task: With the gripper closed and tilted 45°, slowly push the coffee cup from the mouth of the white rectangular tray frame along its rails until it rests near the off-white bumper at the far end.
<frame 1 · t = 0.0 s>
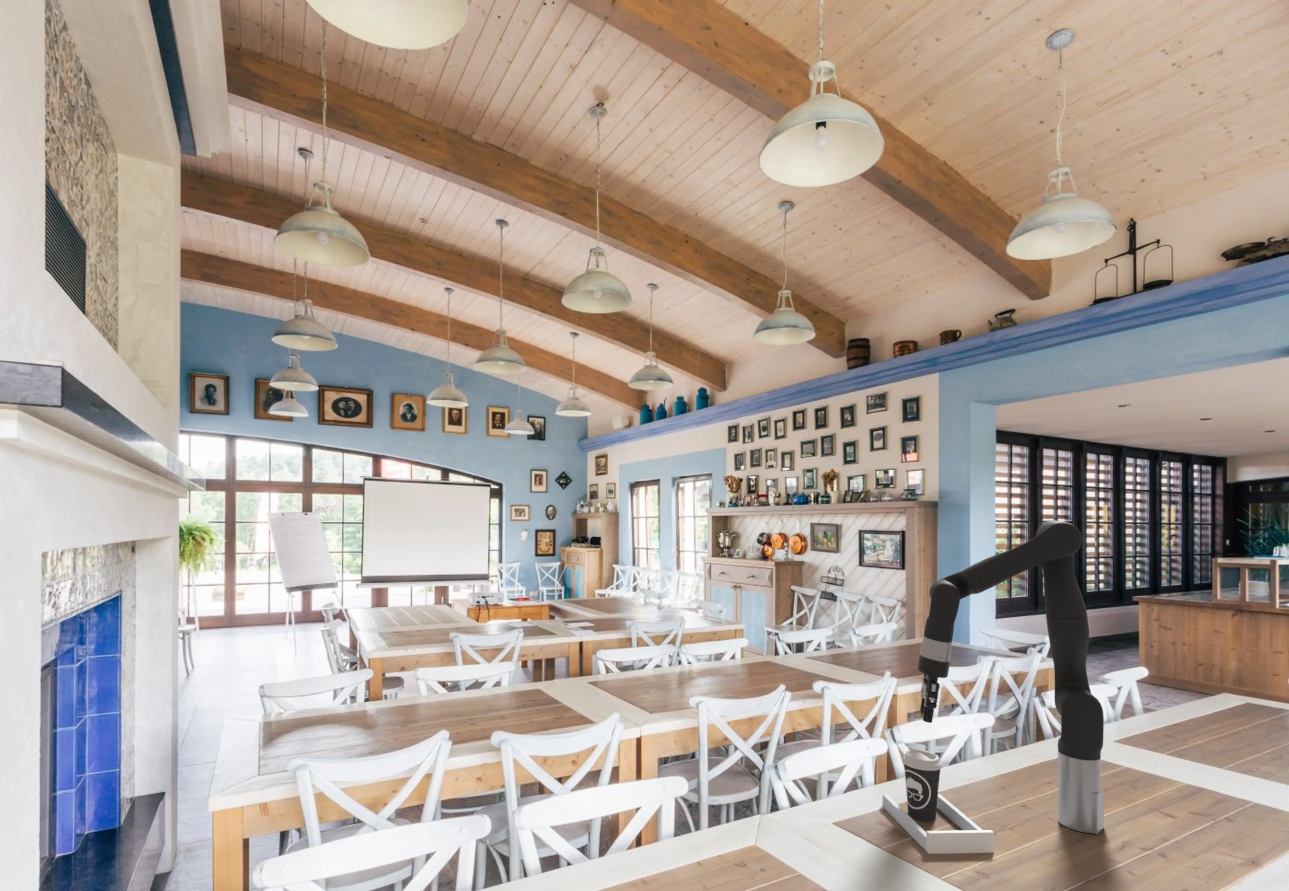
hand: (925, 717, 194), 22 cm above the table, tool pointing down, fingers open, 8 cm apart
white rectangular tray frame: (933, 826, 179), on the table
coffee cup: (921, 816, 185), on the table
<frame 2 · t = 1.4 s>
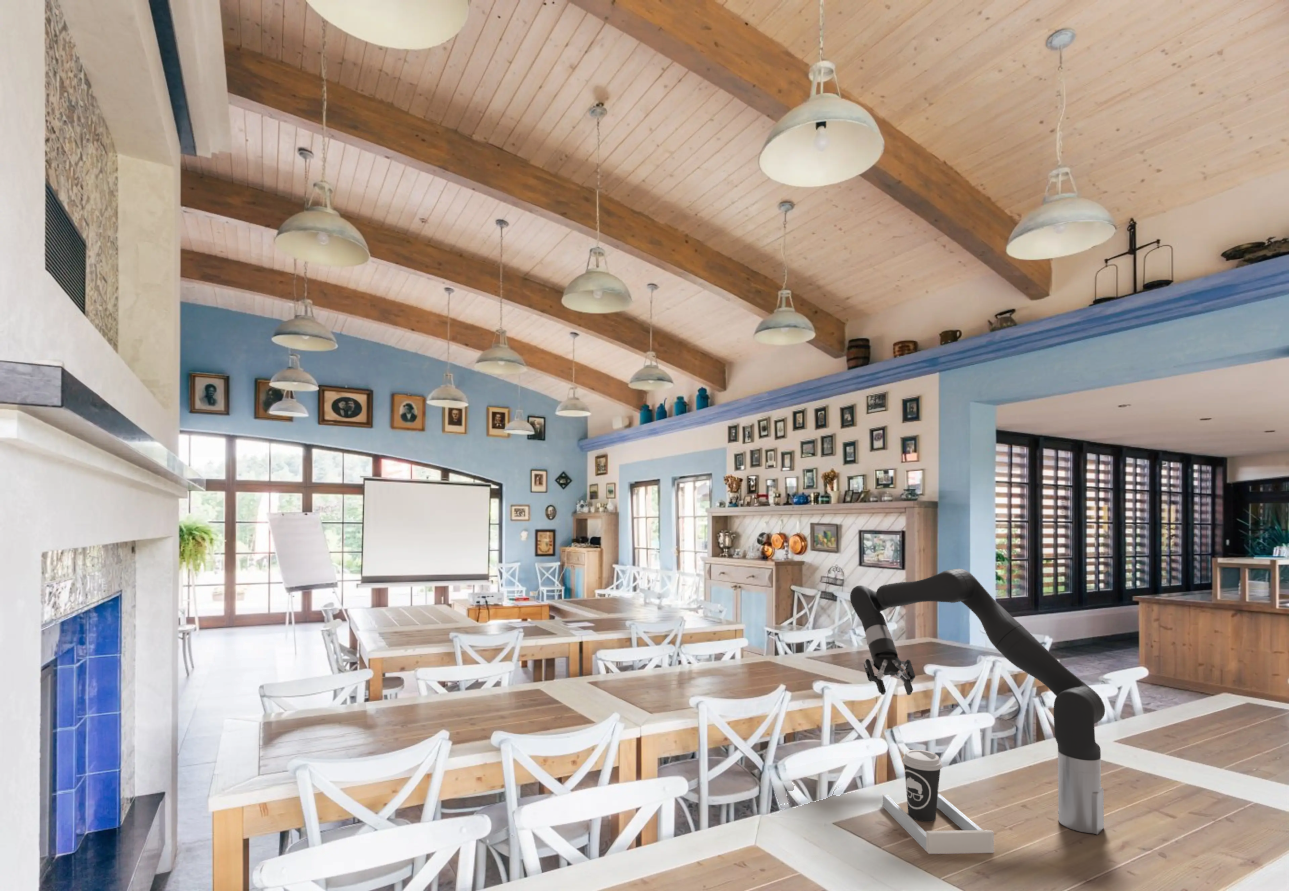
hand: (896, 693, 211), 24 cm above the table, tool tilted 45°, fingers open, 7 cm apart
nothing on the table moved.
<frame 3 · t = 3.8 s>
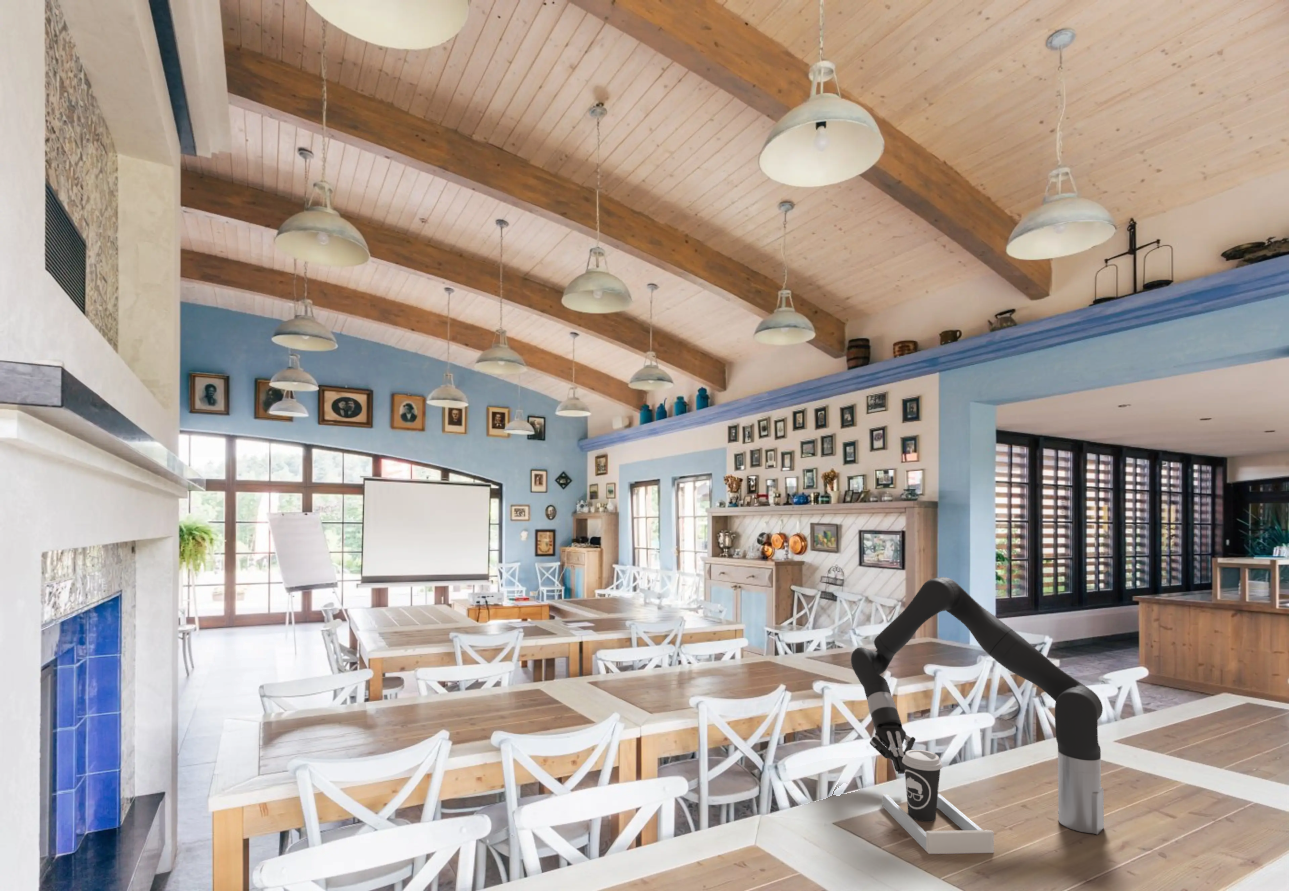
hand: (902, 772, 197), 6 cm above the table, tool tilted 45°, fingers closed
nothing on the table moved.
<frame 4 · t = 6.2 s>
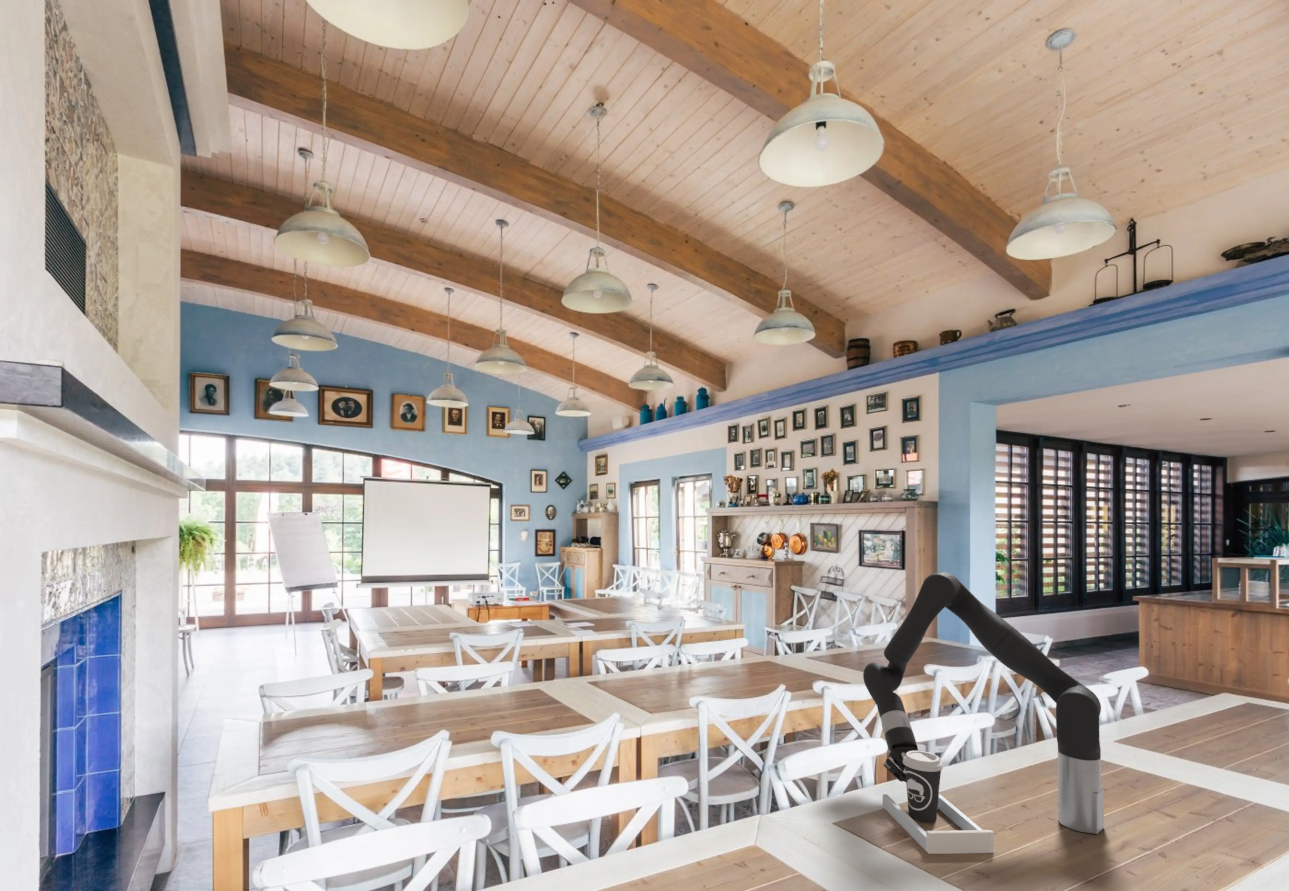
hand: (917, 796, 187), 4 cm above the table, tool tilted 45°, fingers closed
coffee cup: (922, 817, 185), on the table, touching gripper
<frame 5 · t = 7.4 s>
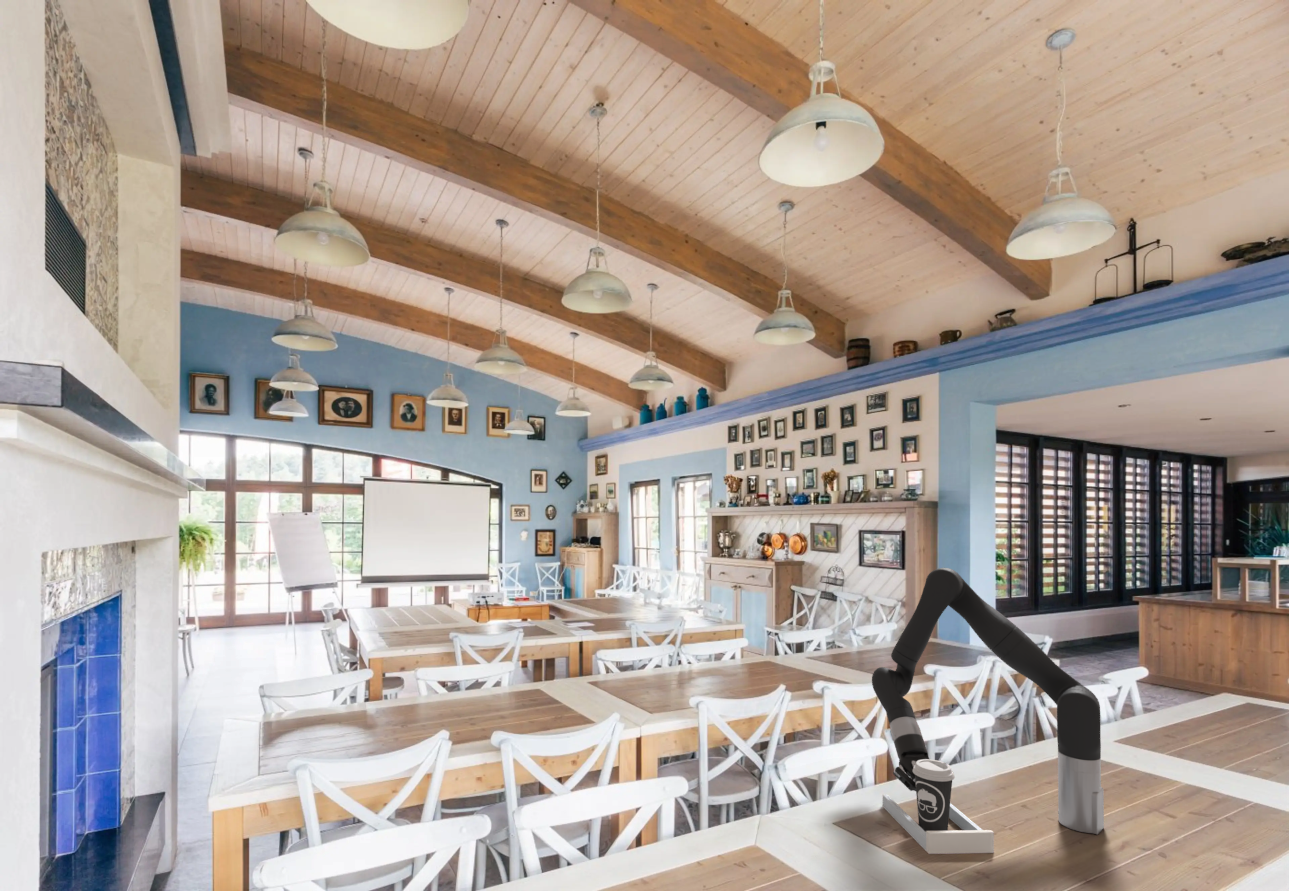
hand: (928, 806, 181), 4 cm above the table, tool tilted 45°, fingers closed
coffee cup: (933, 829, 178), on the table, touching gripper
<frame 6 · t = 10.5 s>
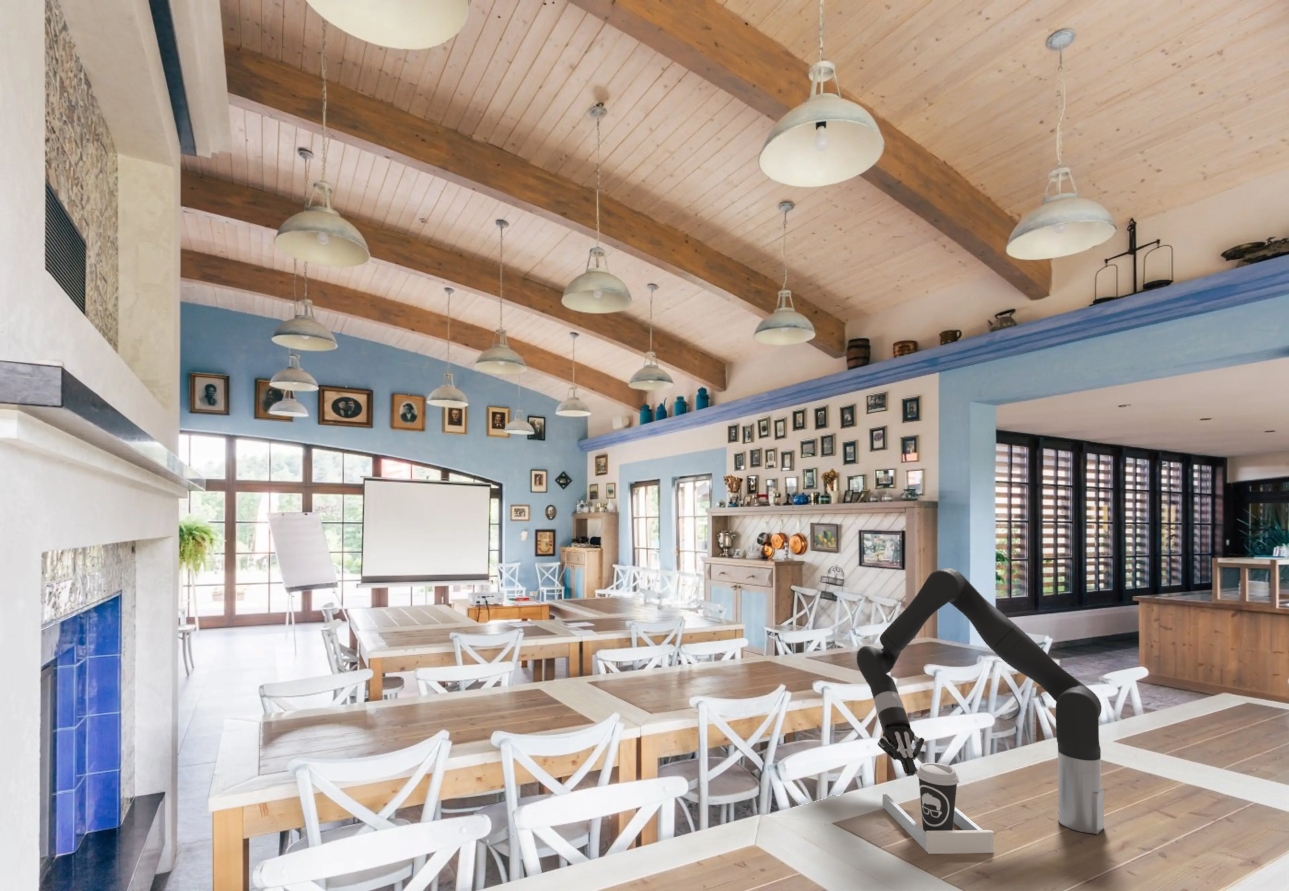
hand: (911, 774, 192), 8 cm above the table, tool tilted 45°, fingers closed
coffee cup: (937, 833, 176), on the table
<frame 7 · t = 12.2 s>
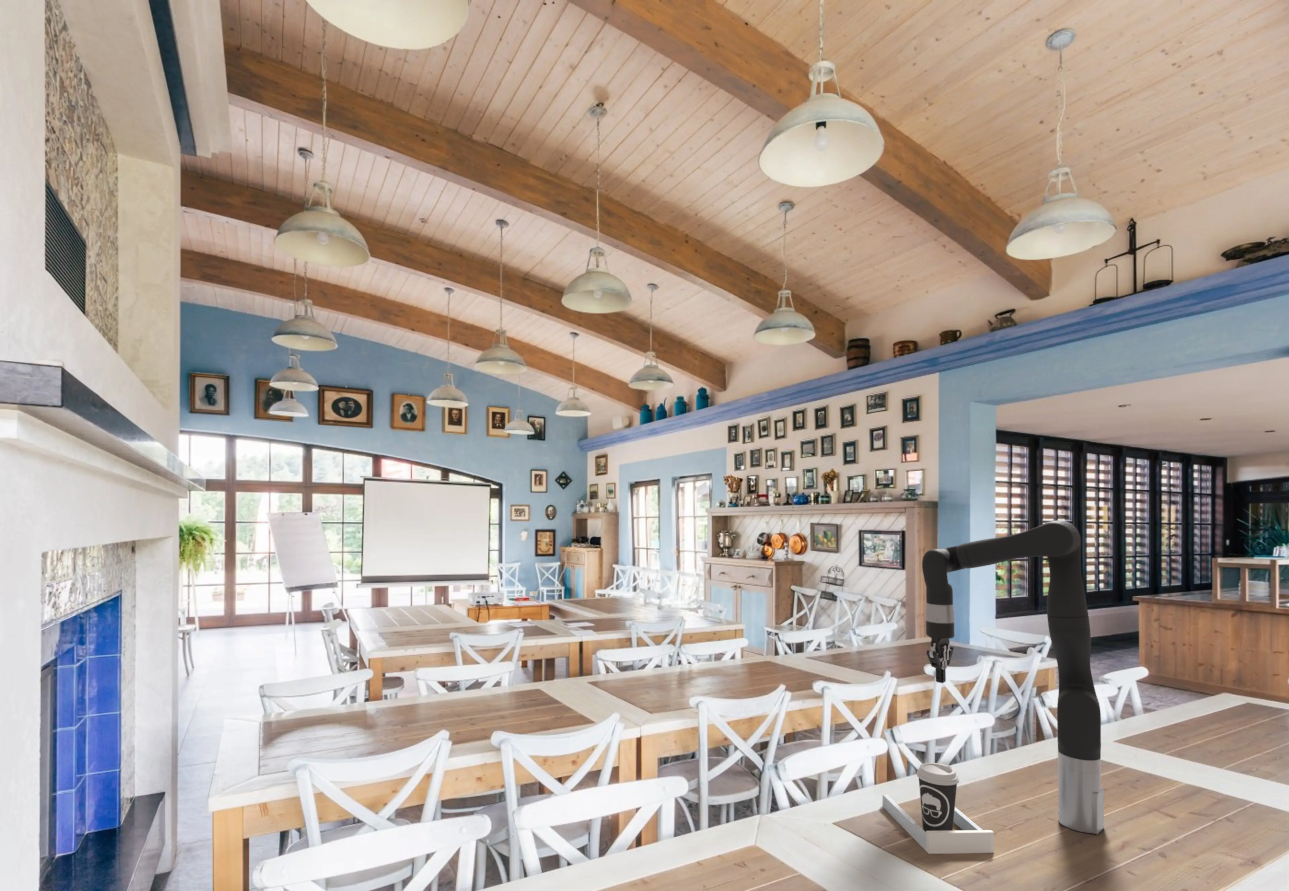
hand: (940, 682, 207), 28 cm above the table, tool pointing down, fingers closed
nothing on the table moved.
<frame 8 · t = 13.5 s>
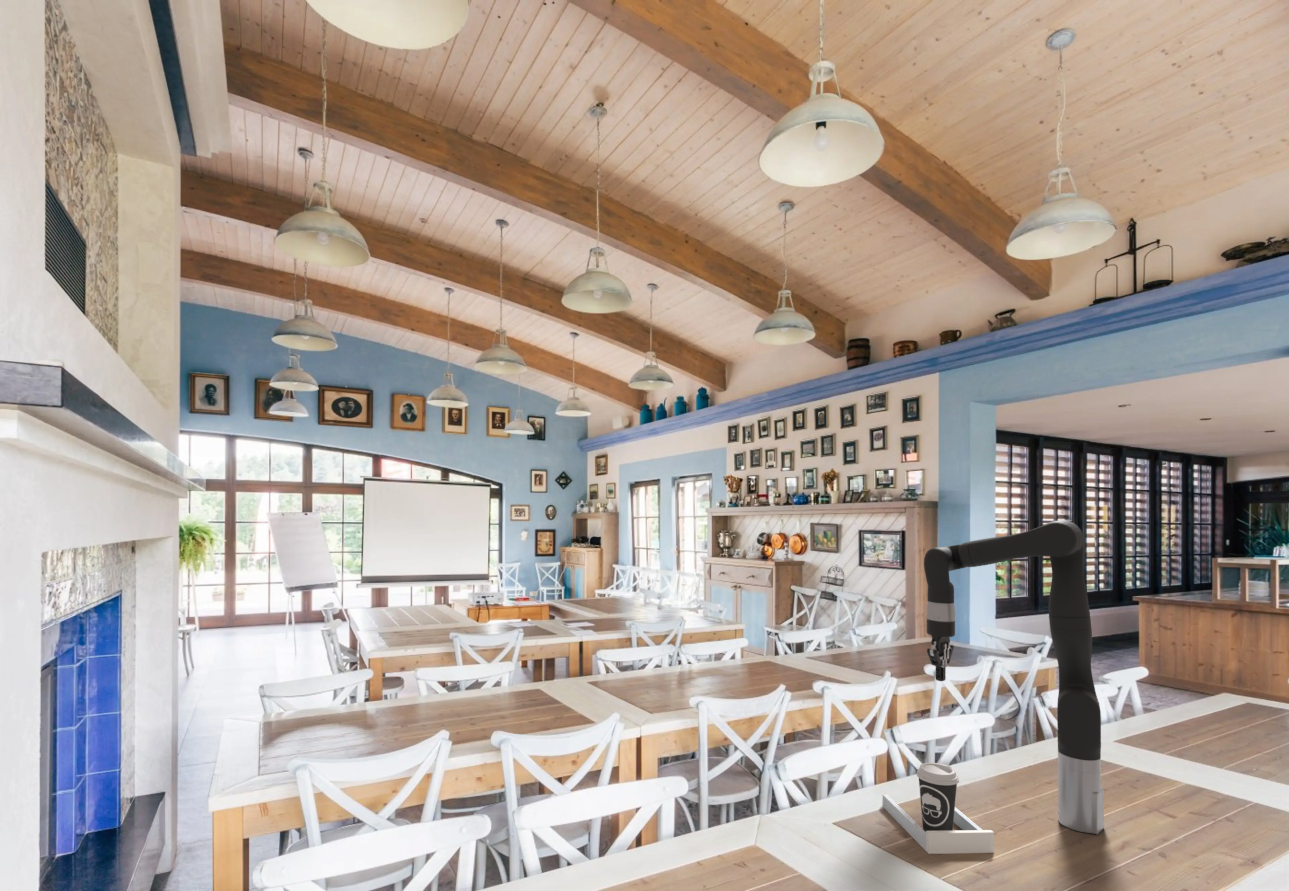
hand: (940, 680, 207), 29 cm above the table, tool pointing down, fingers closed
nothing on the table moved.
at the end: coffee cup 3.4 cm from the target spot on the white rectangular tray frame, point 0.0 cm above the white rectangular tray frame's base; coffee cup tilted 0°; coffee cup moved 9.1 cm from its start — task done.
